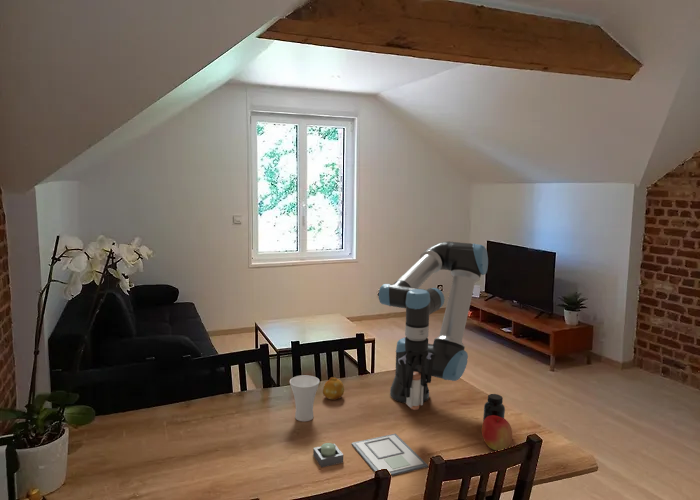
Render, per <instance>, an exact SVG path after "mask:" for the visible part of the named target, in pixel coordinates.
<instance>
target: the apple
mask: <svg viewBox="0 0 700 500" xmlns="http://www.w3.org/2000/svg"><path fill="white" fill-rule="evenodd" d="M481 436H482V438H483V441H484V443H485V444H486V446H488V447H489V448H490V449H491V450H493V451H497V450H500V451H502V450H501V449H503V450H505V449H507V448H508V447H509V446H510V445H511V443H512V441H513V437H514V436H513V429H512V427H511V424H510V423H509V421H508V420H507V419H506V418H505V417H504V418H502V417H499V416H495V415H491V416H488V417H486V418H485V419H484V421H483V420H482V425H481ZM504 448H505V449H504Z"/></svg>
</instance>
